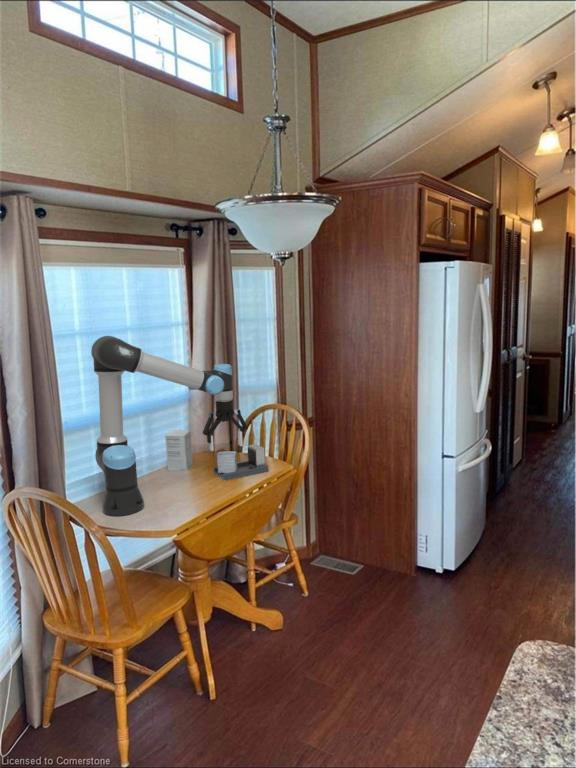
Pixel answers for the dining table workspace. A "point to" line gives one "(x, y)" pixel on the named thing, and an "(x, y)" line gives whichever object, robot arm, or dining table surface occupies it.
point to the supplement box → (179, 450)
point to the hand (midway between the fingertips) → (226, 447)
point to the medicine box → (227, 461)
